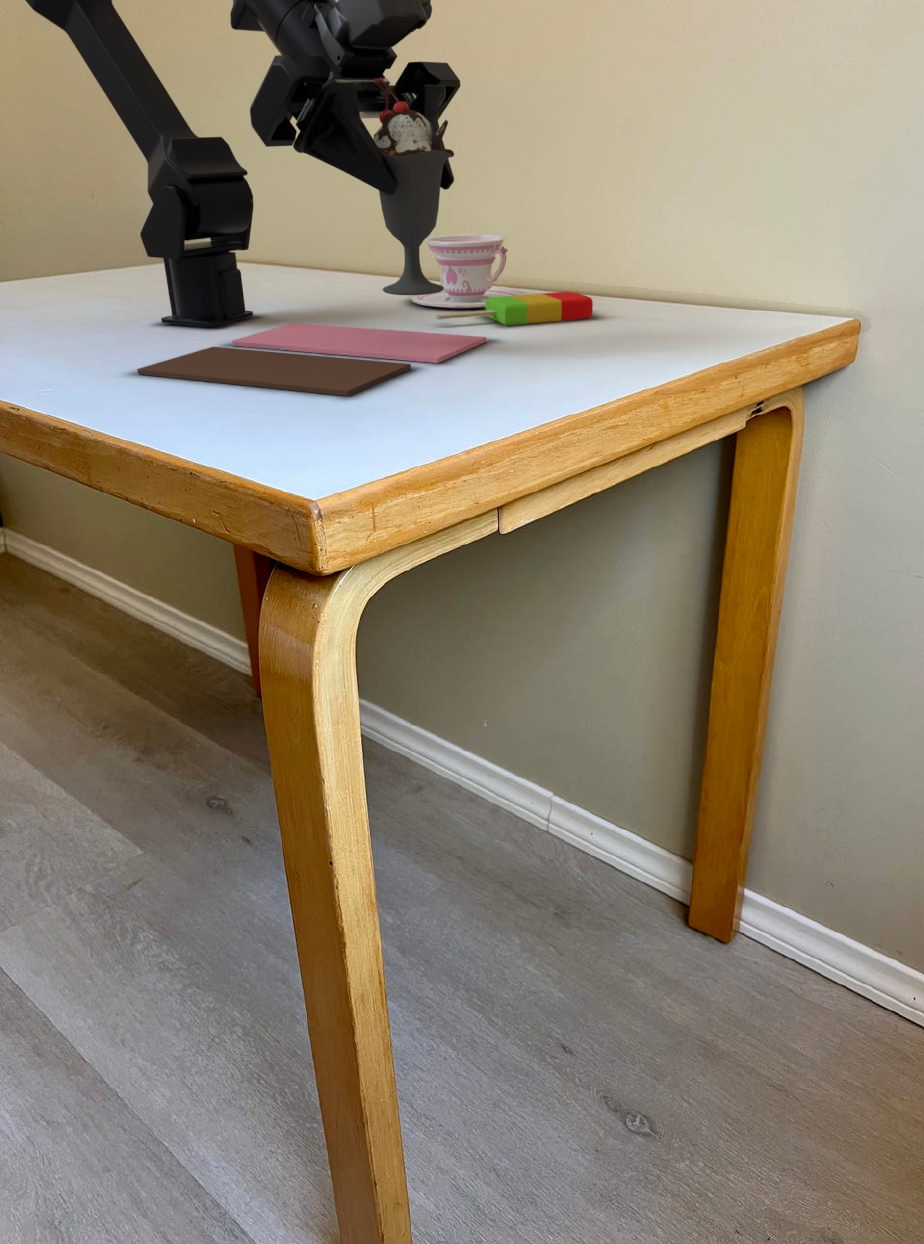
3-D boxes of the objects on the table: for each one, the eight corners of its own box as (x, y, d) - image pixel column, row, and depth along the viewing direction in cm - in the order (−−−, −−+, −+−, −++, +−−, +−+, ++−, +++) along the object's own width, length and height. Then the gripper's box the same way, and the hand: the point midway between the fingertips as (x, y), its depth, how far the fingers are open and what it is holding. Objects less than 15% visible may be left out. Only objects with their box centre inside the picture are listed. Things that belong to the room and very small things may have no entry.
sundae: (355, 290, 78) (341, 78, 71) (422, 281, 82) (416, 78, 75) (401, 300, 74) (391, 74, 67) (470, 290, 77) (468, 75, 70)
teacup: (387, 304, 101) (384, 241, 98) (454, 289, 109) (453, 230, 107) (483, 314, 94) (483, 246, 92) (546, 296, 103) (547, 234, 100)
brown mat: (137, 374, 74) (136, 368, 74) (213, 351, 81) (212, 346, 81) (348, 396, 67) (347, 390, 66) (411, 368, 74) (411, 363, 73)
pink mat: (232, 345, 83) (231, 340, 83) (292, 327, 90) (292, 322, 90) (438, 363, 75) (437, 357, 75) (486, 341, 82) (486, 336, 82)
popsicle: (597, 318, 91) (598, 297, 90) (445, 331, 87) (444, 310, 86) (572, 309, 96) (573, 289, 95) (427, 322, 91) (426, 301, 91)
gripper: (258, -91, 62) (396, 100, 61) (439, -57, 75) (554, 101, 74) (196, 56, 70) (317, 228, 69) (369, 64, 83) (473, 208, 82)
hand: (422, 187), depth 74 cm, fingers closed on sundae, 6 cm apart
